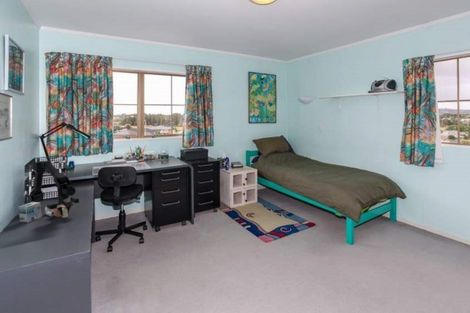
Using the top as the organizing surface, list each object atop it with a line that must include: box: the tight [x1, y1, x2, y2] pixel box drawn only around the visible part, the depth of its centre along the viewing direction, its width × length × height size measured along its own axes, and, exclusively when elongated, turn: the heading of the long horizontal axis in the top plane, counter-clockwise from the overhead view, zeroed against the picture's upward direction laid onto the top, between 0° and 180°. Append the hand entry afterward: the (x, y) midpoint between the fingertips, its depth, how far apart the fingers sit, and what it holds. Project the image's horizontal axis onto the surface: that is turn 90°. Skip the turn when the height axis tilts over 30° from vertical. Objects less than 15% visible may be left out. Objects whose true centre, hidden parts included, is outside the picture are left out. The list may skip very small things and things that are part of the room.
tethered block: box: [53, 205, 69, 219], centre depth 189 cm, size 11×6×6 cm, turn 56°
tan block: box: [44, 206, 54, 217], centre depth 195 cm, size 7×10×5 cm
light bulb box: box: [18, 201, 43, 223], centre depth 183 cm, size 11×7×11 cm, turn 168°
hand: (64, 214), depth 187 cm, fingers closed on tethered block, 3 cm apart
